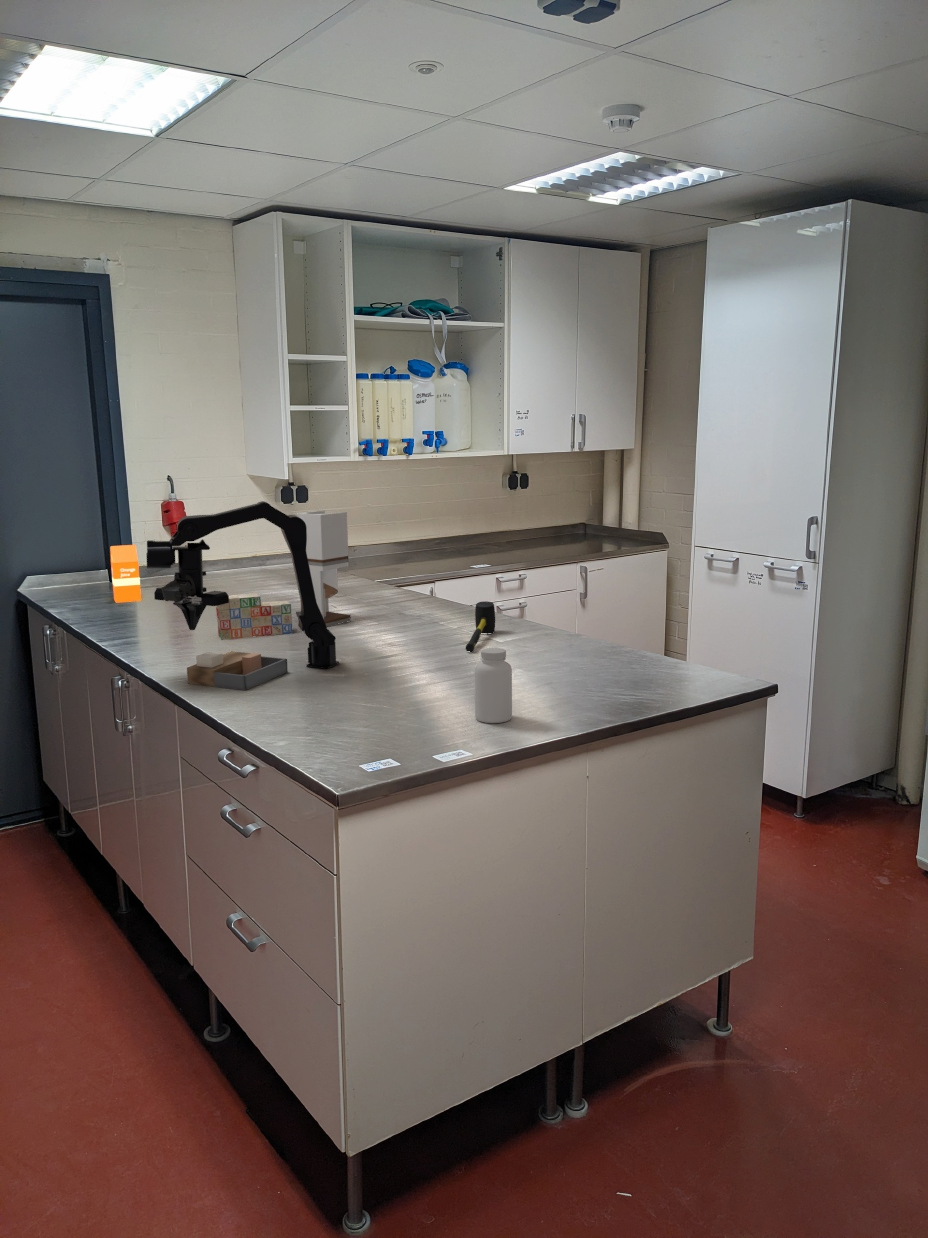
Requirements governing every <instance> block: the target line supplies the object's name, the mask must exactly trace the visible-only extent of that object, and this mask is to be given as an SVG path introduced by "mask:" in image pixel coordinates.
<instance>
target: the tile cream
mask: <svg viewBox="0 0 928 1238" xmlns="http://www.w3.org/2000/svg"><path fill="white" fill-rule="evenodd" d="M195 658H196V661H195V662H196V664H197V666H202V667H211V668H212V667H215V666H217V665H220V664H223V653H222V652H213V651H212V652H210V651H206V652H204V653H200V654H199V655H196V657H195Z"/></svg>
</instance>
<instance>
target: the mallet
mask: <svg viewBox="0 0 928 1238" xmlns="http://www.w3.org/2000/svg"><path fill="white" fill-rule="evenodd" d="M474 610H475V611H474V613H475V614H474V615H475V618H474V619H475V621H474V623H475V631H473V633H472V636H471V637H470V640H469V642H468V643H467V644H466V645H465V650H466V652H467V651H470V652H472V653H473V652H474V650H475V647H476V645H477V643H478V642H479V640H480V639H481V635H482V634H481V633H492V634H494V633H495V631H496V611H495V604H494V603H493V602H492V601H478V602H476V604H475V609H474ZM493 632H494V633H493Z"/></svg>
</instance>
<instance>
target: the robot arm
mask: <svg viewBox="0 0 928 1238" xmlns="http://www.w3.org/2000/svg"><path fill="white" fill-rule="evenodd" d="M260 519H263V520H266V521H267V522H269V523H271V524H272V525H275V526H276V527H278V528H279V529H280V531H281V534H282V536H283V538H284V542H285V543H286V545H287V547H288V550H289V552H290V555H291V560H292V566H293V571H294V575H295V580H296V581H295V582H296V584H297V590H298V594H299V601H300V600H301V604H300V611H295V614H296V618H297V621H298V624H297V627H298V628H299V629H300V630H301V632H303V633H304V634H305V636H306V638H308V639H310V640H311V641H309V642H308V647H307V662H308V663H307V664H306V667H307V668H315V669H316V668H317V669H330V668H332V667H334V666H337V665H338V664H340V661H338V660H337V652H336V651H337V650H336V648H337V647H336V638H337V637H336V636H335V635H334V634H333V633H332V632H331V630H329V629H328V627H327V626H326V624H325V621H324V619H323V616H322V614H321V612H320V609H319V607H318V605H317V602H316V597H315V592H314V588H313V583H312V578H311V573H310V568H309V563H308V558H307V553H306V544H307V528H306V524H305V522H304V521H303V520H302V519H301V518H299V517H298V516H296V514H286V513H284V512H282V511H281V510H279V509H277V508H275V507H274V506H272V505H271V504H270V503H268V502H267V501H261V500H260V501H258V502H256V503H254V504H249V505H246V506H241V507H237V508H234V509H229V510H225V511H222V512H221V511H220V512H217V513H214V514H212V513H211V514H197V515H185V516H182V517H181V518H180V519H179V520H178V522H177V526H176V531H175V533H174V534H173V535H172V536H171V537H170V539H169V540H150V539H149V540H146V569H148V570H149V569H172V566H173V565H175V564H176V551H177V561H178V562H177V563H178V564H177V565H178V566H177V567H178V571H177V572H175V573H174V579H173V580H172V581H169V582H168V583H167V584H166V585H164V586H161V587H157V588H156V589H155V590H154V594H153V595H154V596H153V597H154V600H157V601H165V602H172V604H173V605H174V606H176V607H178V608H179V609H180V610H181V613H182V615H183V617H184V619H185V622H186V624H187V626H188V628H189V630H190V631H195V630H196V628H197V627H198V624H199V621H200V619H201V617H202V615H203V613H204V611H205V609H206V608H207V607H209V606H210V607H217V606H218V605H222V604H226V603H229V594H228V593H227V591H221V590H212V591H207V587H205V586H204V576H207V571H206V570H204V569H203V551H209V550H211V549H210V548H211V547H210V546H209V544H208V543H206V541H205V540H204V539H201V538H204V537H206V536H209V535H210V534H212V533H214V532H216V531H218V530H222V529H226V528H229V527H234V526H238V525H242V524H245V523H249V522H253V521H257V520H260ZM199 539H201V540H200V541H199V542H195V541H197V540H199ZM185 543H186V546H185V545H184V546H182V545H183V544H185Z"/></svg>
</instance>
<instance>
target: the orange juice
mask: <svg viewBox="0 0 928 1238" xmlns="http://www.w3.org/2000/svg"><path fill="white" fill-rule="evenodd" d="M137 551H138V550H137V546H136V544H127V545H123V544H122V545H111V546H110V566H111V567H110V568H111V580H112V589H113V600H114V602H115V603H116V604H117V603H129V602H130V603H132V602H141V601H142V591H141V577H140V569H139V568H140V567H139V559H138V558H139V557H138V552H137Z"/></svg>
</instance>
